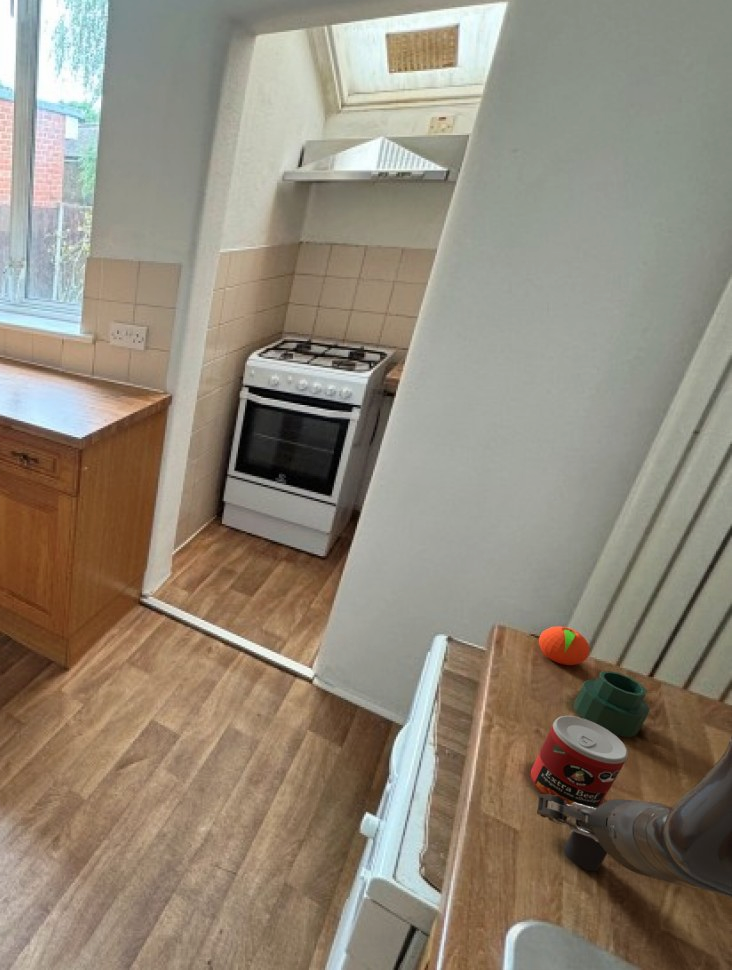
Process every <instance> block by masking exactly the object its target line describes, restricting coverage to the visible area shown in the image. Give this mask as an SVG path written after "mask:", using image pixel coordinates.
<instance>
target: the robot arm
mask: <svg viewBox="0 0 732 970" xmlns="http://www.w3.org/2000/svg"><path fill="white" fill-rule="evenodd" d="M536 814H538V815H540V817H542V818H544V819H546V818H547V819H548V821H551V822H553V823H556V824H558V825H561V826H562V825H564V826H566V827H569V830H570V831H572V832H573V831H574V832H576V833H578V834H580V835H583V836H586V837H589V838H592V839H594V840H595V841H597V842H599V843H600V844H601V846H602V847H603V849H604V850H605V851H606V852H607V855H609V857H611V858H612V859H613V860H614V861H615V862H617V864H619V865H621V866H622V867H624V868H626V869H627V870H629V871H631V872H633V873H636V874H639V875H640V876H641V875H642V876H645V877H649V878H652V879H655V880H659V881H662V882H664V883H668V884H671V885H677V886H682V887H691V888H695V889H698V890H702V891H705V892H711V893H717V894H720V895H723V896H727V897H730V898H732V735H731V736H730V740H729V742H728V744H727V747H726V749H725V751H724V753H722V755H721V757H720V758H719V759H718V760H717V761H716V762H715V764H714V765H712V767H711V768H710V769H709V770H708V771H707V772H706V774H705V775H704V776H703V777H702V778H700V780H699V781H698V782H697V783H696V784H695V785H693V786H692V787H691V788H690V789H689V790H688V791H687V792H686V793H684V795H683V796H682V797H680V798H679V800H677V801H676V803H675V804H674V805H673V806H670V805H666V804H663V803H659V802H654V801H653V802H652V801H645V800H643V801H642V800H633V799H622V798H618V799H611V800H606V801H605V802H602V803H601V805H600V806H599V807H598V808H592V807H588V806H585V805H582V804H578V803H572V804H571V805H568V804H566V801H565V800H564V799H562V798H561V797H560V796H557V795H555V796H554V795H546V794H542V793H538V804H537V809H536ZM568 818H570V819H569V820H568ZM585 829H586V830H588V831H590V832H591V833H590V832H587V831H586V830H585Z"/></svg>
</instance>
